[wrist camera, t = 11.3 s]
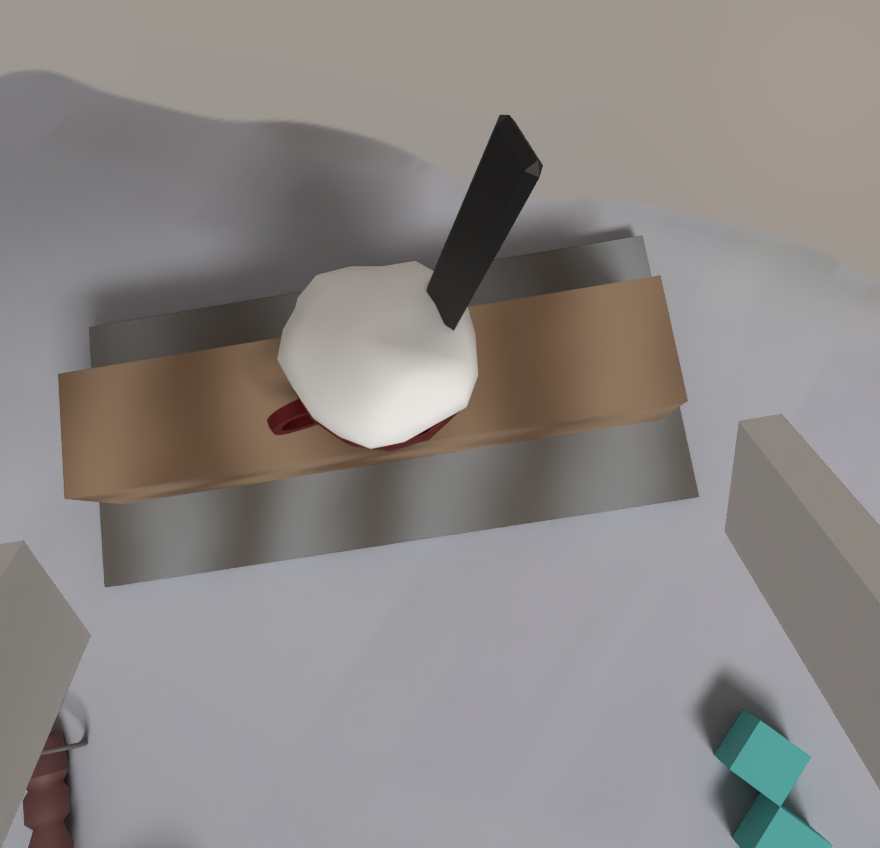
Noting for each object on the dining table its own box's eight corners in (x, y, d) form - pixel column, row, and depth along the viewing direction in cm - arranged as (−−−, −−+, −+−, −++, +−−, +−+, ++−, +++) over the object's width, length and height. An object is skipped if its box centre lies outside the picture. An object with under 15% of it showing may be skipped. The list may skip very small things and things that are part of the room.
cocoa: (298, 471, 26) (123, 440, 14) (283, 315, 27) (108, 163, 15) (544, 439, 25) (577, 377, 13) (521, 279, 26) (533, 89, 14)
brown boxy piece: (114, 585, 30) (43, 595, 25) (98, 332, 32) (30, 295, 28) (693, 497, 30) (735, 489, 25) (638, 242, 32) (667, 188, 27)
